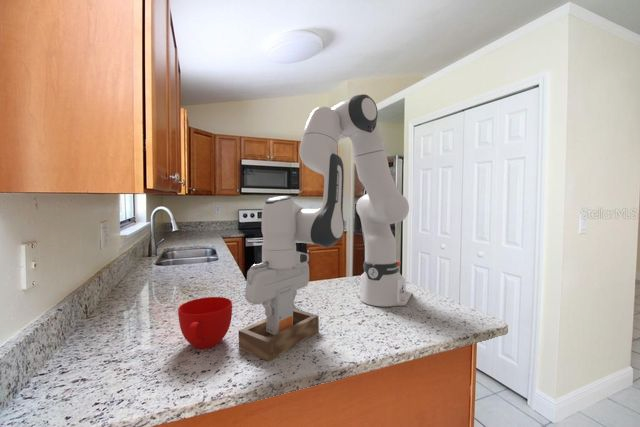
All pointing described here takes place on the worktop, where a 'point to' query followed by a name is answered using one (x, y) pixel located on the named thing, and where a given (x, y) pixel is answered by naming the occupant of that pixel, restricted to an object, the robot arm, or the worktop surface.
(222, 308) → the ceramic cup
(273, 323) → the skincare box
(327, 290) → the worktop surface
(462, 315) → the worktop surface
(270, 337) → the brown hollow rectangular tray
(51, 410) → the worktop surface
